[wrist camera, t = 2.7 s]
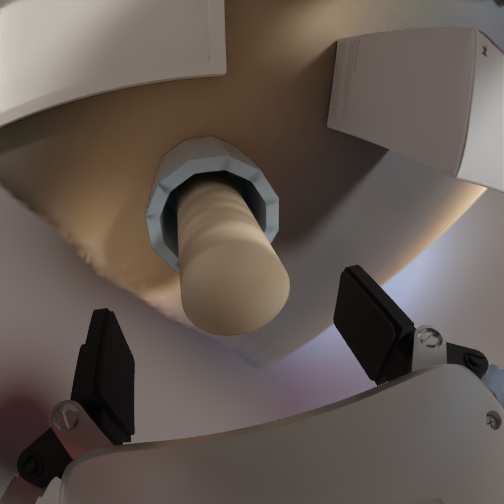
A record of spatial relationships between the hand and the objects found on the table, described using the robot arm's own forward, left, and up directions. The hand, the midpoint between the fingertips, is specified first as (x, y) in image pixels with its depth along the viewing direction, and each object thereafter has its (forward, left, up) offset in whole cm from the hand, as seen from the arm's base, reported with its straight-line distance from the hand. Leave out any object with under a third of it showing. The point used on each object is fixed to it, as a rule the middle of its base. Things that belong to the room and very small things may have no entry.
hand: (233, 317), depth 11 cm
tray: (+8, -16, -16) cm, 24 cm away
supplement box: (-16, -8, -16) cm, 24 cm away
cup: (0, 0, -16) cm, 16 cm away
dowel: (0, 0, -15) cm, 15 cm away
